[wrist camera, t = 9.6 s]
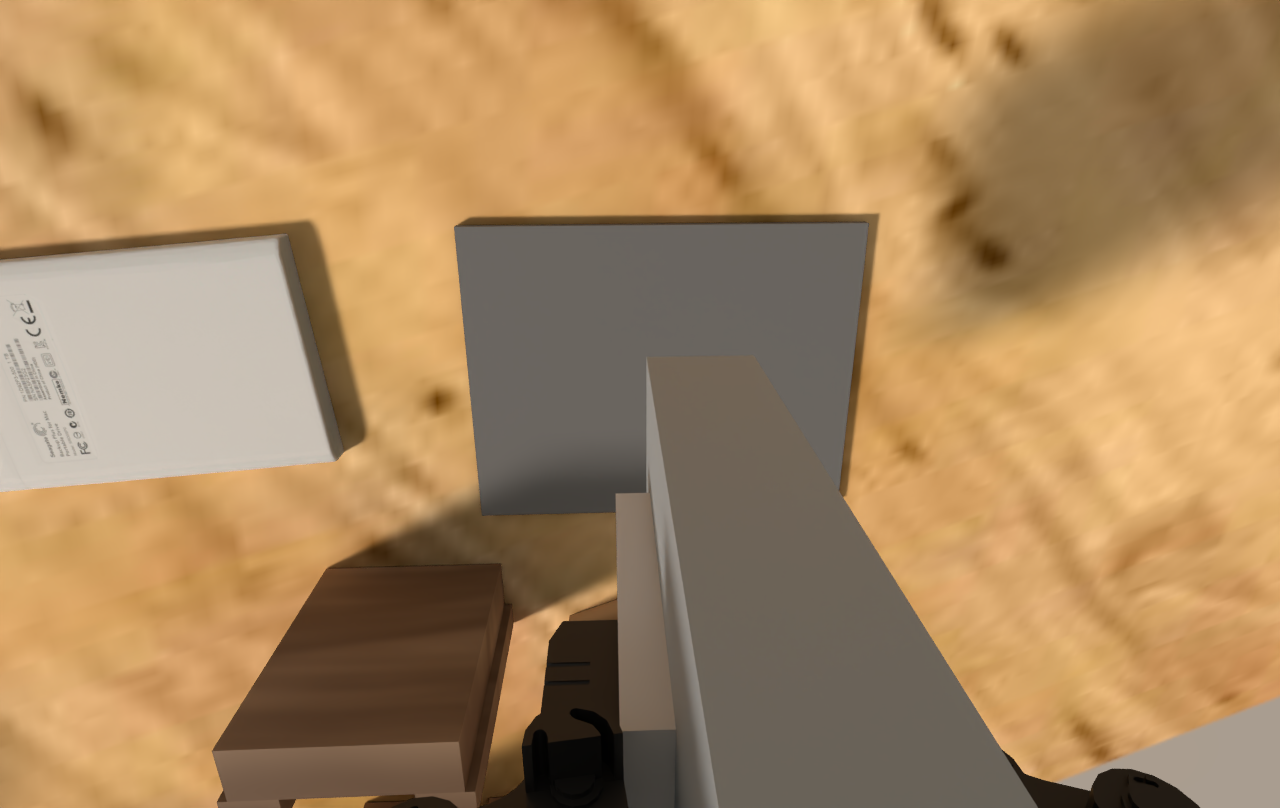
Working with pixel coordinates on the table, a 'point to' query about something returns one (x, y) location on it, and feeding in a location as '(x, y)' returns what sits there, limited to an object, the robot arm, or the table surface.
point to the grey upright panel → (791, 621)
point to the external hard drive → (158, 365)
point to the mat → (642, 341)
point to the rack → (376, 692)
